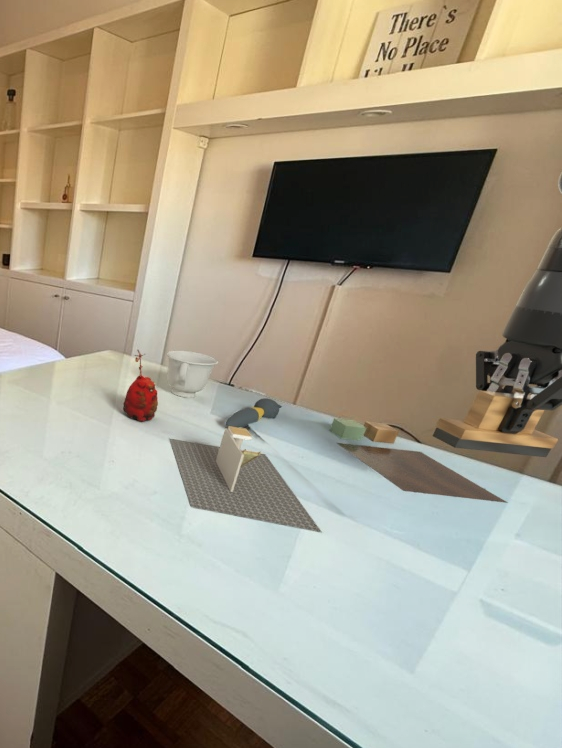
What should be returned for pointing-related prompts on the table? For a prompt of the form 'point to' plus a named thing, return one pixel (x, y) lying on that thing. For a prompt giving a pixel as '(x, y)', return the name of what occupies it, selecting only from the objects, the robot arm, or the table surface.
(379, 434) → the wooden cube
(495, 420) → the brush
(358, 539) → the table surface
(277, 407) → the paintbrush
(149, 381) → the red clay folk toy
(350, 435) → the sage cube
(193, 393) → the teacup
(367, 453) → the brown flat mat
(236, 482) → the model
